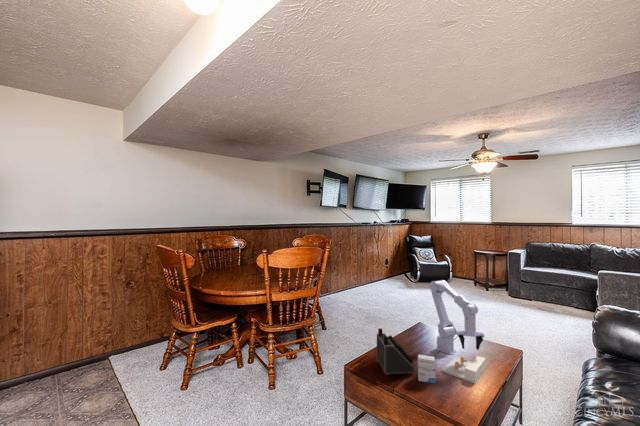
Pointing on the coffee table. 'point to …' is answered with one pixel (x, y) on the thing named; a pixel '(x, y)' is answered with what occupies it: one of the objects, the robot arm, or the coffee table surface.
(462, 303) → the robot arm
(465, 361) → the knob
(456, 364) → the knob
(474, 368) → the panel mount
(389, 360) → the dark wedge stand
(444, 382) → the coffee table surface
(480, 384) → the coffee table surface
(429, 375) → the ink box
